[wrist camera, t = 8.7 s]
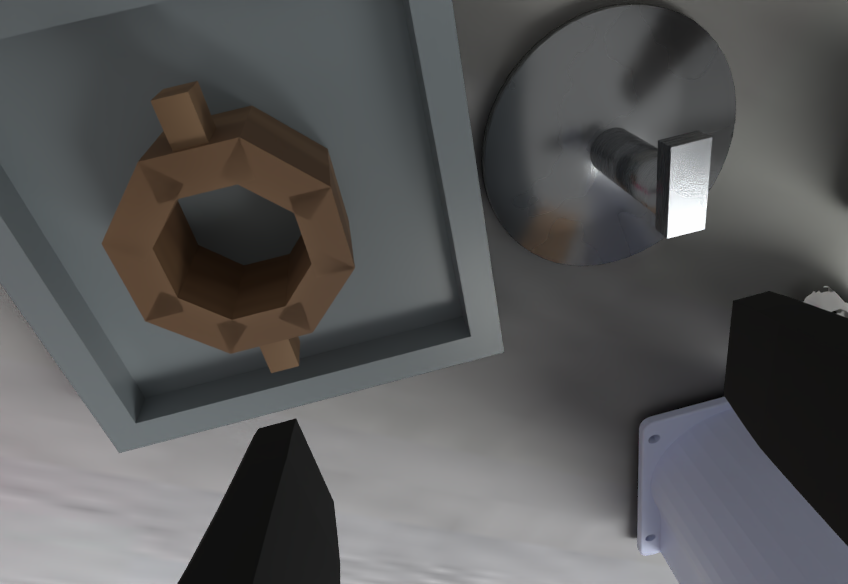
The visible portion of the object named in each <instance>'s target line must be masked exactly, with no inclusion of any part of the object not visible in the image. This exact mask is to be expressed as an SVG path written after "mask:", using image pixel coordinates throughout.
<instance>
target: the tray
mask: <svg viewBox="0 0 848 584" xmlns="http://www.w3.org/2000/svg"><path fill="white" fill-rule="evenodd" d="M195 81H198V83H199V85H200V88H201V90H202V93H203V96H204V98H205V101H206V103H207V106H208V108H209V111H210V113H211V115H214V114H219V113H223V112H227V111H231V110H235V109H239V108H244V107H248V106H254V107H256V108H257V109H259V110H261V111H263V112H264V113H266V114H268V115H270V116H271V117H273V118H275V119H276V120H278V121H280V122H282V123H283V124H285V125H287V126H289V127H290V128H292V129H294V130H296V131H297V132H299V133H301V134H303V135H304V136H306V137H308V138H310V139H311V140H313V141H315V142H317V143H318V144H320V145H322V146H324V147H325V148H327V149H328V152H329V155H330V158H331V162H332V165H333V169H334V172H335V176H336V179H337V182H338V186H339V189H340V193H341V196H342V199H343V203H344V206H345V210H346V213H347V217H348V220H349V226H350V234H351V241H352V249H353V257H354V264H355V269H354V270H353V272H352V273H351V275H350V276H349V278H348V280H347V281H346V283H345V284H344V286H343V287H342V289H341V290H340V292H339V293H338V295H337V296H336V298H335V299H334V301H333V302H332V304H331V305H330V307H329V308H328V310H327V312H326V313H325V315H324V316H323V318H322V319H321V321H320V322H319V324H318V325H317V327H316V328H315V330H314V331H313V333H310V334H306V335H302V336H298V337H299V340H300V355H299V366H297V367H293V368H289V369H286V370H282V371H278V372H274V373H271V372H270V369H269V367H268V365H267V363H266V360H265V358H264V356H263V354H262V351H261V349H260V347H255V348H251V349H248V350H244V351H240V352H236V353H232V354H230V353H227V352H224V351H222V350H219V349H217V348H214V347H211V346H209V345H206V344H203V343H201V342H198V341H196V340H193V339H190V338H188V337H185V336H182V335H180V334H177V333H175V332H172V331H169V330H167V329H164V328H161V327H159V326H156V325H153V324H151V323H148V322H146V321H145V320H144V318H143V316H142V315H141V313H140V311H139V309H138V308H137V306H136V304H135V302H134V301H133V299H132V297H131V295H130V293H129V292H128V290H127V288H126V286H125V285H124V283H123V281H122V279H121V277H120V276H119V274H118V272H117V270H116V269H115V267H114V265H113V263H112V262H111V260H110V258H109V256H108V254H107V253H106V251H105V249H104V247H103V246H102V244H101V243H102V241H103V239H104V237H105V234H106V232H107V230H108V228H109V225H110V223H111V221H112V219H113V216H114V214H115V212H116V210H117V207H118V205H119V203H120V201H121V199H122V196H123V194H124V192H125V190H126V187H127V185H128V183H129V181H130V178H131V176H132V174H133V172H134V169H135V167H136V165H137V163H138V161H139V160H140V159H141V157H142V156H143V155H144V154H145V153H146V151H147V150H148V149H149V148H150V147H151V145H152V144H153V143H154V142H155V141H156V139H157V138H158V137H159V136H160V135H161V133H162V132H163V128H162V126H161V124H160V122H159V119H158V117H157V115H156V113H155V110H154V108H153V106H152V104H151V100H152V99H153V98H154V97H155V96H156V95H157V94H158V93H159V92H160V91H161V90H163V89H165V88H170V87H174V86H178V85H182V84H186V83H191V82H195ZM178 202H179V204H180V206H181V208H182V211H183V213H184V215H185V217H186V219H187V221H188V224H189V226H190V228H191V230H192V232H193V234H194V237H195V239H196V241H197V243H198V245H200V246H202V247H204V248H206V249H209V250H211V251H213V252H215V253H218V254H220V255H222V256H224V257H226V258H229V259H231V260H233V261H235V262H237V263H240V264H242V265H248V264H252V263H256V262H259V261H263V260H267V259H271V258H275V257H279V256H283V255H287V254H290V252H291V251H292V249H293V247H294V246H295V244H296V242H297V241H298V239H299V237H300V236H301V231H300V228H299V226H298V223H297V220H296V217H295V214H294V213H293V212H291V211H289V210H287V209H285V208H283V207H281V206H279V205H277V204H275V203H273V202H271V201H269V200H267V199H265V198H263V197H261V196H259V195H257V194H256V193H254V192H252V191H250V190H248V189H246V188H244V187H242V186H240V185H238V184H237V185H233V186H229V187H225V188H221V189H217V190H213V191H209V192H205V193H201V194H196V195H192V196H188V197H184V198H180V199H179V200H178ZM0 283H1V285H2V286H3V288H4V289H5V290H6V292H7V293H8V295H9V296H10V298H11V299H12V300H13V302H14V303H15V305H16V306H17V308H18V309H19V310H20V312H21V313H22V315H23V316H24V318H25V319H26V320H27V322H28V323H29V325H30V326H31V328H32V329H33V330H34V332H35V333H36V335H37V336H38V338H39V339H40V340H41V342H42V343H43V345H44V346H45V348H46V349H47V350H48V352H49V353H50V355H51V356H52V358H53V359H54V360H55V362H56V363H57V365H58V366H59V368H60V369H61V370H62V372H63V373H64V375H65V376H66V378H67V379H68V380H69V382H70V383H71V385H72V386H73V388H74V389H75V390H76V392H77V393H78V395H79V396H80V398H81V399H82V400H83V402H84V403H85V405H86V406H87V408H88V409H89V410H90V412H91V413H92V415H93V416H94V418H95V419H96V420H97V422H98V423H99V425H100V426H101V428H102V429H103V430H104V432H105V433H106V435H107V436H108V438H109V439H110V440H111V442H112V443H113V445H114V446H115V448H116V449H117V450H118V452H119V453H122V452H125V451H129V450H133V449H137V448H141V447H145V446H148V445H152V444H156V443H160V442H164V441H167V440H171V439H175V438H179V437H183V436H187V435H190V434H194V433H198V432H202V431H206V430H210V429H213V428H217V427H221V426H225V425H229V424H232V423H236V422H240V421H244V420H248V419H252V418H255V417H259V416H263V415H267V414H271V413H275V412H278V411H282V410H286V409H290V408H294V407H298V406H301V405H305V404H309V403H313V402H317V401H320V400H324V399H328V398H332V397H336V396H340V395H343V394H347V393H351V392H355V391H359V390H363V389H366V388H370V387H374V386H378V385H382V384H385V383H389V382H393V381H397V380H401V379H405V378H408V377H412V376H416V375H420V374H424V373H428V372H431V371H435V370H439V369H443V368H447V367H451V366H454V365H458V364H462V363H466V362H470V361H473V360H477V359H481V358H485V357H489V356H493V355H496V354H500V353H504V348H503V341H502V334H501V327H500V321H499V314H498V307H497V300H496V294H495V287H494V280H493V273H492V267H491V260H490V253H489V246H488V240H487V233H486V226H485V219H484V213H483V206H482V199H481V192H480V186H479V179H478V172H477V165H476V159H475V152H474V145H473V138H472V132H471V125H470V118H469V112H468V105H467V98H466V91H465V85H464V78H463V71H462V64H461V58H460V51H459V44H458V37H457V31H456V24H455V17H454V10H453V4H452V0H0Z"/></svg>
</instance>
